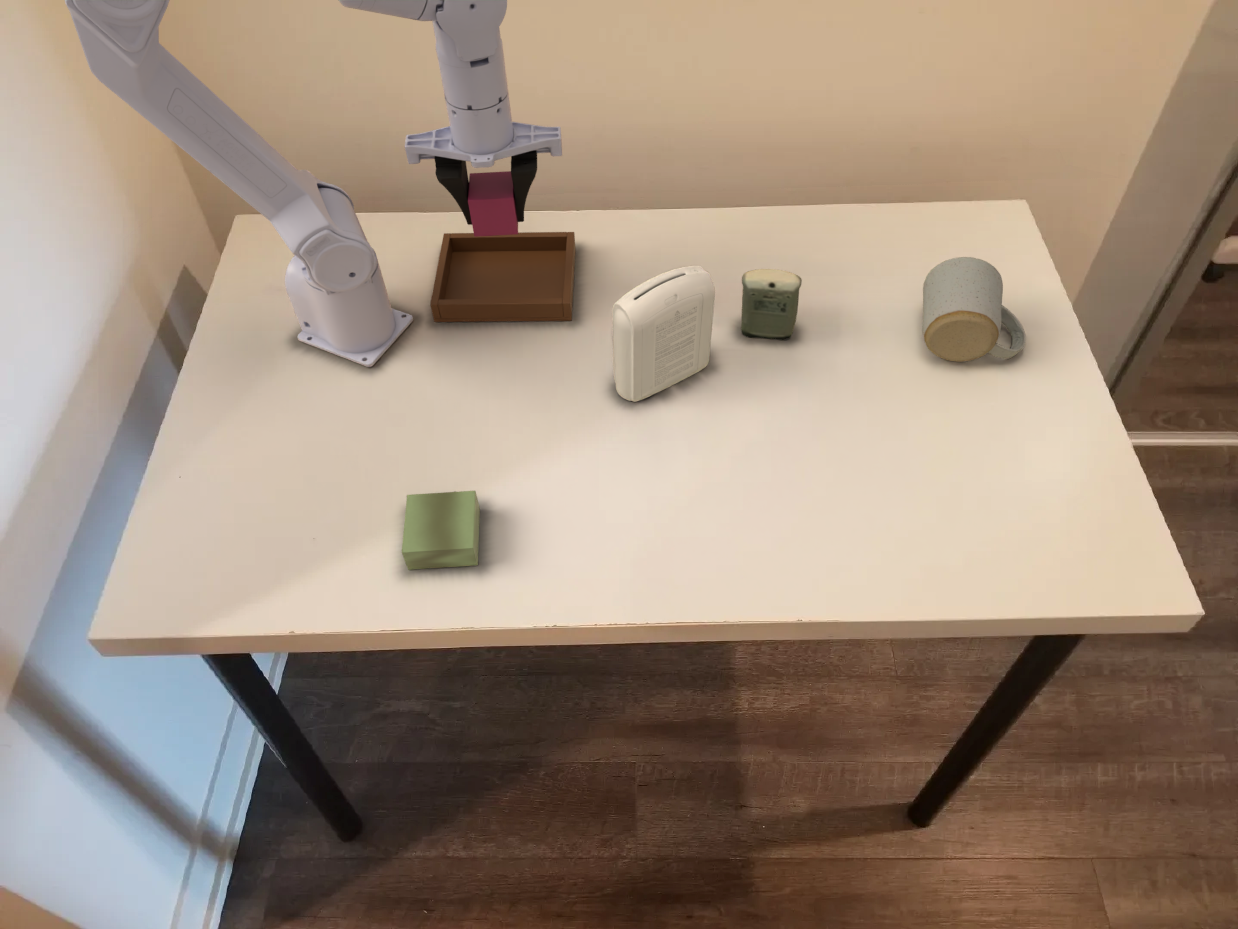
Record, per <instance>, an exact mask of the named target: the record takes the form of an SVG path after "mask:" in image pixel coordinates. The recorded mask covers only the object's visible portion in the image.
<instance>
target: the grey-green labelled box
mask: <svg viewBox="0 0 1238 929" xmlns="http://www.w3.org/2000/svg"><path fill="white" fill-rule="evenodd" d="M802 282H803V279H802V278H801V276H800V275H798V274H797V273H793V272H791V271H787V270H783V269H776V268H775V269H774V268H758V269H757V268H756V269H753V270H749V271H746V272H744V273H743V274H742V275H741V284H742V285H741V286H742V294H741V319H740V320H741V321H740V322H741V323H740V331H741V334H742V335H743V336H744V337H747V338H751V339H766V340H780V341H787V340H789V339H791V338H792V335H793V333H794V329H795V326H796V321H797V316H798V309H799V297H800V288H801V287H802Z"/></svg>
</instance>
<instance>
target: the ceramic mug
mask: <svg viewBox="0 0 1238 929" xmlns="http://www.w3.org/2000/svg"><path fill="white" fill-rule="evenodd" d="M1003 291H1004V282H1003V278H1002V275H1001V273H1000V272H999V270H998V269H997V268H996V267H995V265H993V264H992V263H990V262H988V261H986V260H983V259H982V258H976V257H972V256H961V257H960V256H959V257H953V258H949V259H946V260H944V261H942V262H940V263H938V264H936V265H935V266H934V267H933V268H932V269H930V271H929V272H928V273H927V275H926V276H925V278H924V281H923V285H922V322H921V324H922V325H921V328H922V329H921V331H922V337H923V339H924V343H925V345H926V347H927V349H928V351H930V352H931V353H932V354H933V355H934V356H936V357H938V358H940V359H943V360H946V361H950V362H957V363H958V362H960V363H961V362H970V361H974V360H977V359H980V358H982V357H984V356H985V355H987V354H988V355H990V356H992V357H995V358H998V359H1002V360H1008V359H1011V358H1013V357H1014V356H1016V355H1017V354H1018V353H1020V352H1021V351H1022V350H1023V349H1024V348H1025V345H1026V340H1027V339H1026V338H1027V336H1026V332H1025V329H1024V326H1023V325H1022V323H1021V321H1020V320H1019V318H1017V316H1016V315H1015V314H1014V313H1013V312H1011V310H1009V308H1007V307H1006V306H1004V305H1003ZM1002 325H1003V326H1004V327H1005V328H1006V330H1007V331H1008V333H1009V335H1010V336H1011V346H1010V348H1009V347H1006V346H1003V345H1002V344H1000V343H998V340H999V338H1000V334H1001V330H1002Z"/></svg>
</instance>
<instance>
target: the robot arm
mask: <svg viewBox="0 0 1238 929" xmlns="http://www.w3.org/2000/svg"><path fill="white" fill-rule="evenodd" d="M337 1H338V2H339V3H340V4H341V5H342V6H343V7H344V8H347V9H353V10H359V11H363V12H364V11H365V12H370V13H375V14H380V15H386V16H391V17H396V18H402V19H407V20H413V21H417V22H432V27H433V32H434V37H435V52H436V56H437V63H438V68H439V74H440V79H441V84H442V89H443V95H444V101H445V107H446V112H447V116H448V117H447V118H448V123H449V125H448V126H444V127H440V128H436V129H433V130H428V131H424V132H419V133H412V134H406V135H405V141H404V150H405V155H406V158H407V163H408V165H417V164H420V163H421V161H422V160H434V164H435V177H436V178H437V181H438V183H439V184H440V185H442V186H443V188H444V189H445V190H446V191H447V192H448V193H449V194H450V195H451V196H452V198H453V199H454V200H455V202H456V204H457V205H458V207H459V209H460V210H461V212H462V214H463V217H464V218H465V221H466V224H467V225H468V226H472V221H471V215H470V210H469V204H468V191H469V175H468V168H467V162H469V163H470V164H471V167H472V168H474V169H484V168H485V169H486V168H492V167H493V166H494V165H495V162H496V161H498V160H504V159H507V158H510V171H511V177H512V181H513V187H514V193H515V200H516V215H517V221H518V223H523V222H525V206H526V202H527V198H528V195H529V191H530V188H531V186H532V185H533V183H534V180H535V178H536V175H537V172H538V154H550V156H551V157H562V156H563V142H562V130H561V129H562V128H561V126H545V125H538V124H532V123H524V122H518V121H513V117H512V110H511V101H510V94H509V85H508V78H507V69H506V62H505V54H504V44H503V40H502V38H501V30H500V29H501V28H500V26H501V25H502V23H503V22H504V19H505V17H506V13H507V9H508V0H337ZM64 3H65V6H66V8H67V10H68V11H69V14H70V16H71V20H72V22H73V26H74V28H75V31H76V33H77V37H78V40H79V42H80V45H81V48H82V52H83V54H84V57H85V59H86V62H87V65H88V68H89V71H90V72H91V73H92V74H93V76H94V77H95V78H96V79H97V80H98V82H100V83H101V84H103V85H104V86H105V87H106V88H108V89H109V90H110V91H111V92H112V93H114V95H115V96H117V97H118V98H120V99H121V101H123V102H124V103H126V105H128V106H129V107H130V108H131V109H133V110H134V111H135V112H136V113H137V114H139V115H140V116H141V117H143V118H144V119H145V120H146V121H148V122H149V123H150V124H151V125H152V126H153V127H154V128H156V129H157V130H158V131H160V132H161V133H163V135H164V136H165V137H167V138H168V139H169V140H171V142H172V143H174V144H175V145H177V146H178V147H179V148H180V149H182V150H183V151H184V152H185V153H186V154H188V155H189V156H190V157H191V158H193V159H194V160H195V161H196V162H197V163H199V164H200V165H201V166H202V167H203V168H204V169H205V170H207V171H208V172H210V174H212V175H213V177H215V178H217V180H219V181H220V182H222V183H223V184H224V185H225V186H226V187H228V188H229V189H230V190H231V191H232V192H233V193H235V194H236V195H237V196H238V197H239V198H241V200H244V202H246V203H247V204H248V205H249V206H251V207H252V208H253V209H254V210H256V211H257V213H259V214H261V216H263V217H264V218H265V219H266V220H268V222H270V224H271V225H272V227H273V228H274V229H275V231H276V233H277V234H278V235H279V237H280V239H281V240H282V241H283V243H284V244H285V246H286V247H287V249H288V250H289V251H290V252H291V253H292V254H293V256H292V258H291V259H290V261H289V263H288V264H287V267H286V269H285V276H284V287H285V292H286V295H287V297H288V299H289V302H290V304H291V307H292V309H293V312H294V314H295V316H296V319H297V323H298V324H299V327H300V329H301V331H300V332H299V333H298V334H297V337H296V338H297V340H298V341H299V342H302V343H304V344H306V345H309V346H312V347H315V348H317V349H319V350H322V351H325V352H326V353H327V352H328V353H330V354H332V355H335V356H338V357H341V358H342V359H343V358H344V359H346V360H349V361H351V362H354V363H356V364H359V365H362V366H364V367H367V368H370V367H373V366H374V365H376V363H377V362H378V360H380V358H381V357H382V356H383V355H384V354H385V352H386V351H388V350H389V349H390V347H391V346H392V345H393V344H394V343H395V341H396V340H397V339H398V338H399V337H400V336H401V335H402V334H403V333H404V331H405V330H406V329H407V328H408V327H409V326H410V325H411V323H413V321H414V317H413V315H412V314H409V313H407V312H404V311H401V310H398V309H396V308H392V305H391V301H390V297H389V294H388V291H387V288H386V287H387V286H386V284H385V281H384V277H383V273H382V270H381V266H380V263H379V259H378V256H377V253H376V251H375V249H374V248H373V247H372V245H371V244H370V242H369V241H368V238H367V236H366V234H365V232H364V230H363V228H362V225H361V223H360V220H359V218H358V216H357V214H356V211H355V206H354V202H353V200H352V198H351V197H350V195H349V194H348V192H346V191H345V190H344V189H343V188H342V187H340V186H338V185H336V184H332V183H330V182H326V181H323V180H321V179H319V177H318V178H317V177H316V176H315V175H314V174H313V173H312V172H311V171H310V170H308V169H297V168H296V166H294V165H293V164H292V163H291V162H290V161H289V160H288V159H287V158H286V157H285V156H283V155H282V154H281V153H280V152H279V151H278V150H277V149H276V148H274V147H273V145H271V144H270V143H269V142H268V141H267V140H266V139H265V138H263V136H261V134H260V133H258V132H257V131H256V130H255V129H254V128H253V127H252V126H251V125H249V124H248V123H247V122H246V121H245V120H244V119H243V118H242V117H241V116H240V115H238V113H237V112H235V111H234V110H233V109H232V108H231V107H230V106H229V105H228V104H227V103H226V102H224V101H223V100H222V99H221V98H220V97H219V96H218V95H217V94H215V92H213V90H212V89H210V88H209V87H208V86H207V85H206V84H205V83H204V82H203V81H201V79H199V78H198V77H197V75H195V74H194V73H192V71H190V70H189V68H187V67H186V66H185V65H184V64H183V63H182V62H181V61H180V60H178V59H177V58H176V57H175V56H174V55H173V54H172V53H171V52H170V51H169V50H167V48H166V47H164V46H163V45H162V44H161V43H160V38H159V37H160V34H159V33H160V30H159V29H160V25H161V22H162V20H163V18H164V15H165V13H166V11H167V9H168V7H169V3H170V0H64Z"/></svg>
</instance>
